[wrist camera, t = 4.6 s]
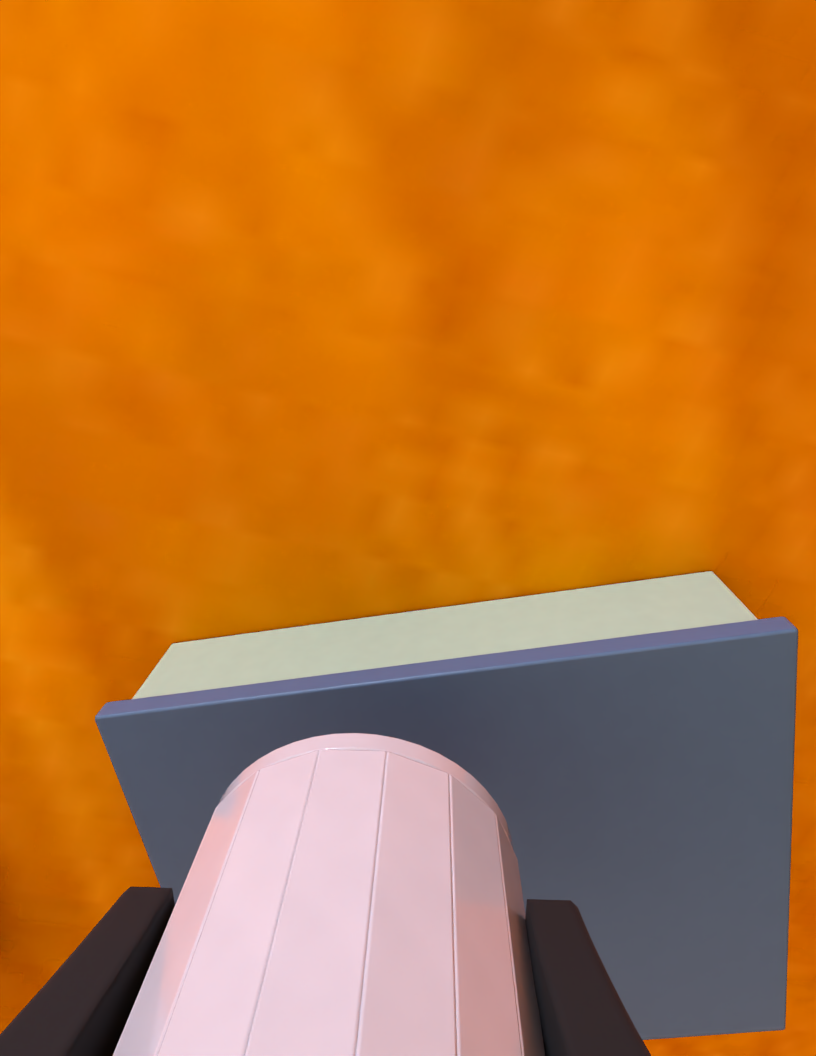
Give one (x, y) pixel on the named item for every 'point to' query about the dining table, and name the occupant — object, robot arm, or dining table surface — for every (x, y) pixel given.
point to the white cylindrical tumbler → (345, 916)
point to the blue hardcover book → (537, 763)
